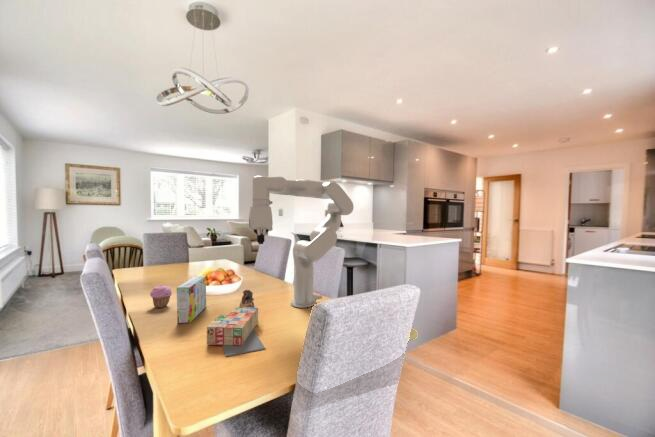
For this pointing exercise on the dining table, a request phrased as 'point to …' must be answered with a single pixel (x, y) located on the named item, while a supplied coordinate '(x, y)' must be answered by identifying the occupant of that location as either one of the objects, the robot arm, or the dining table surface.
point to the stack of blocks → (232, 327)
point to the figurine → (247, 300)
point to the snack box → (191, 299)
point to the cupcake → (161, 296)
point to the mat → (245, 346)
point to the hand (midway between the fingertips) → (260, 243)
